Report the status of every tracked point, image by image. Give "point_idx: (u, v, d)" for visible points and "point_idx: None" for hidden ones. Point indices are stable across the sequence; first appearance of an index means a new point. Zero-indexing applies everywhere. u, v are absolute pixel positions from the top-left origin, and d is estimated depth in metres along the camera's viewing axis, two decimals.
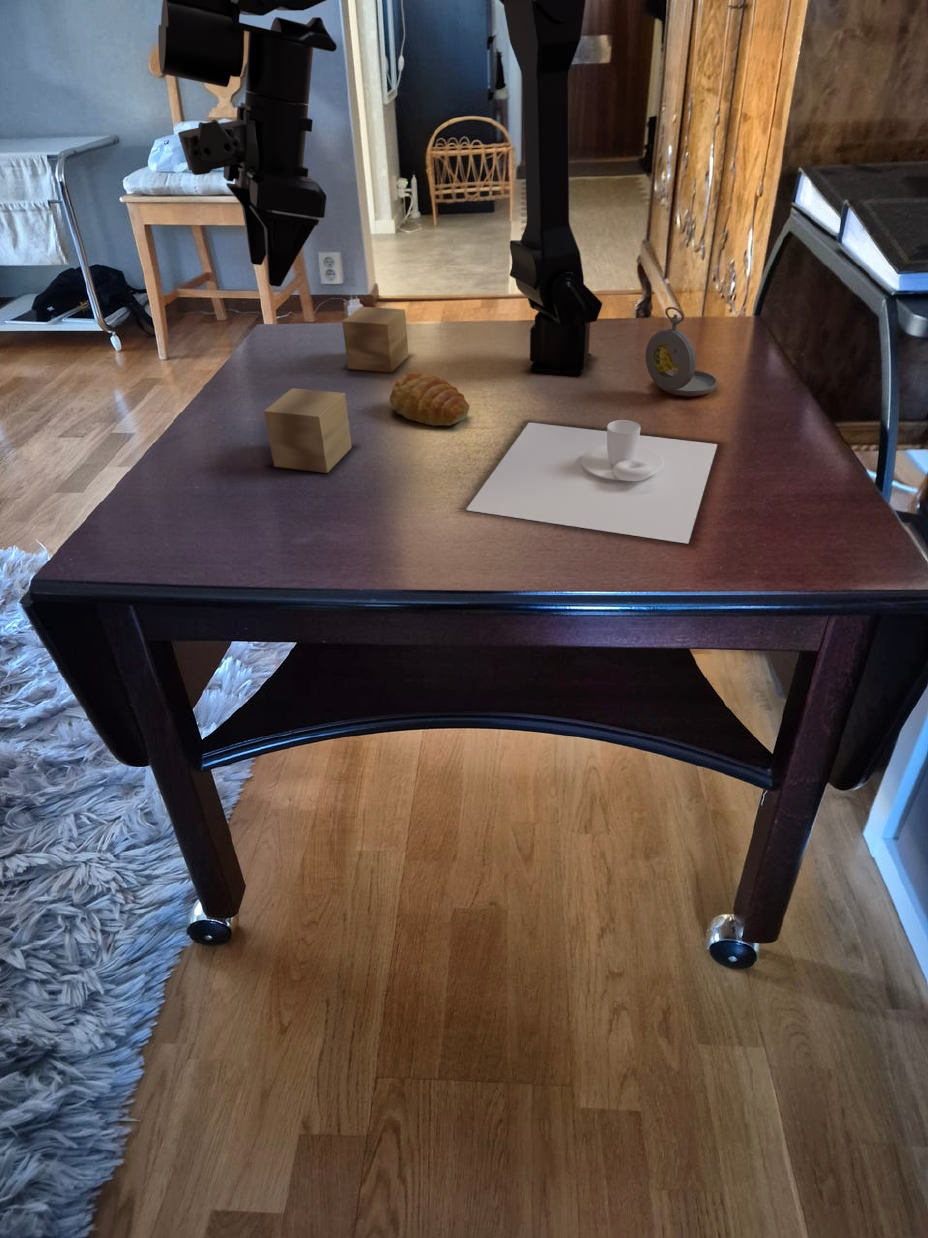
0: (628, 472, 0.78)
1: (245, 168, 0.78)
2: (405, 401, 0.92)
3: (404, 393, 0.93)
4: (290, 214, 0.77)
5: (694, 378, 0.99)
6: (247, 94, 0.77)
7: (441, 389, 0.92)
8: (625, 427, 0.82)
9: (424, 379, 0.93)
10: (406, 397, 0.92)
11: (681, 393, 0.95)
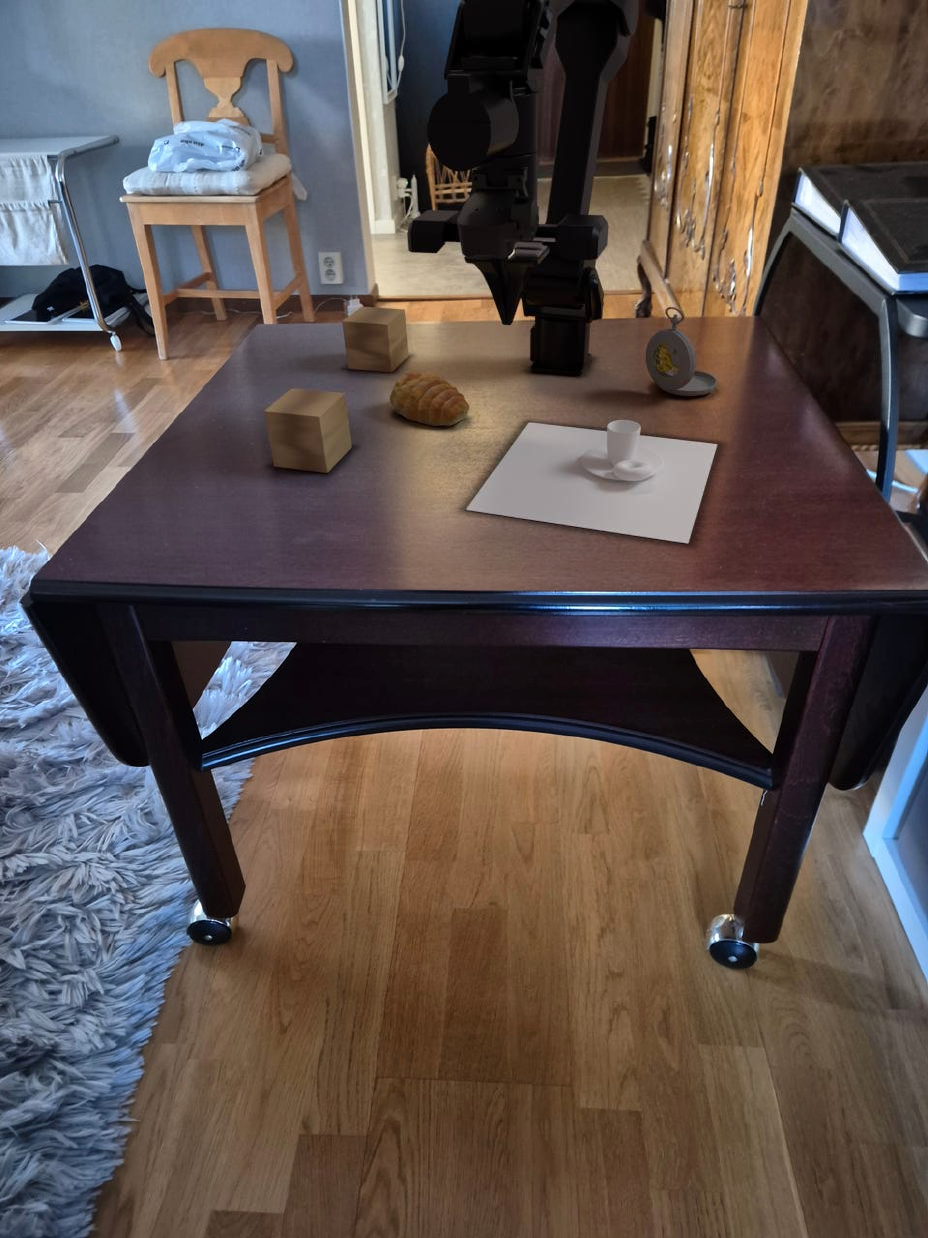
0: (628, 472, 0.78)
1: None
2: (405, 401, 0.92)
3: (404, 393, 0.93)
4: (542, 252, 0.81)
5: (694, 378, 0.99)
6: (504, 159, 0.75)
7: (441, 389, 0.92)
8: (625, 427, 0.82)
9: (424, 379, 0.93)
10: (406, 397, 0.92)
11: (681, 393, 0.95)
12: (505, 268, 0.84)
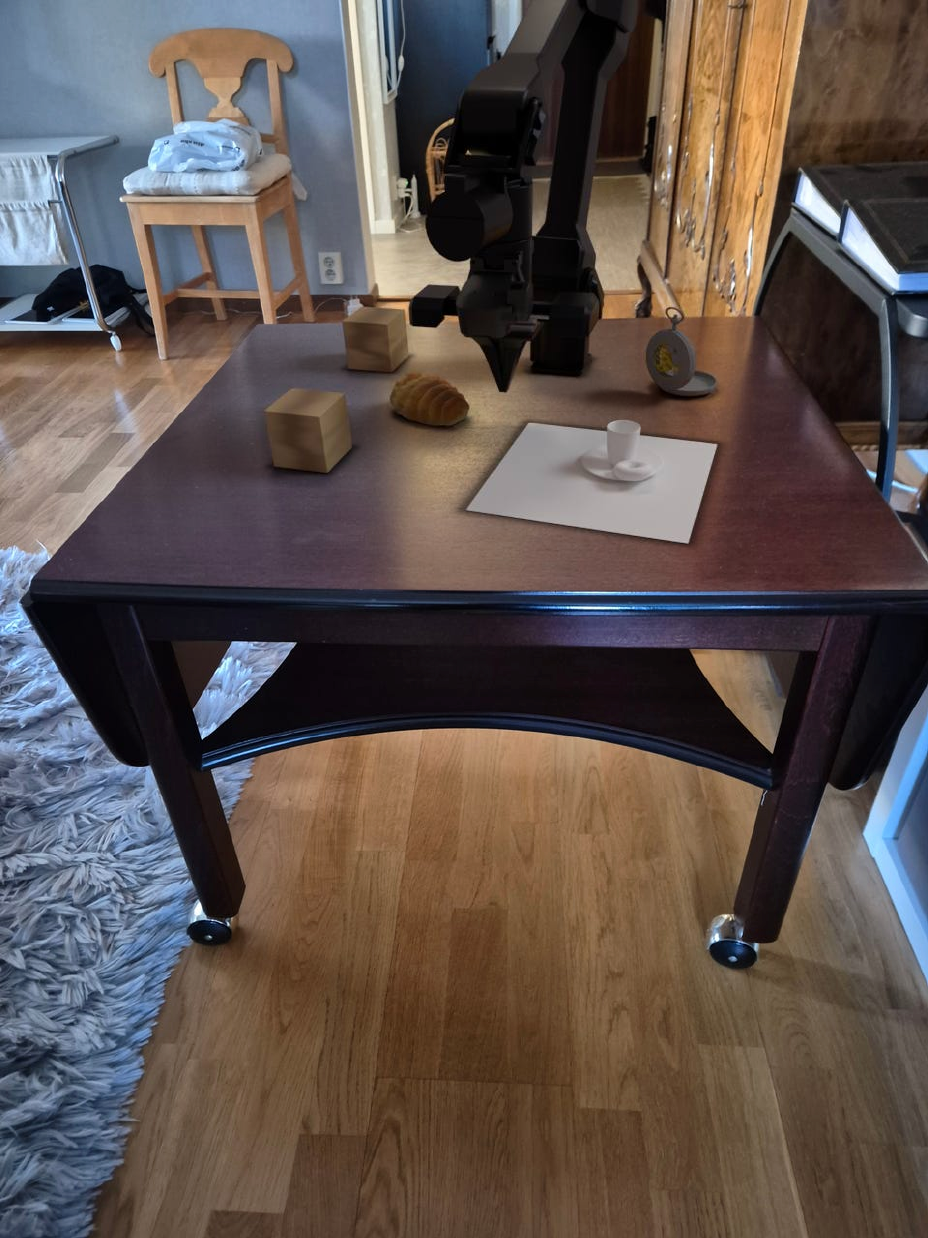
0: (628, 472, 0.78)
1: None
2: (405, 401, 0.92)
3: (404, 393, 0.93)
4: (537, 326, 0.86)
5: (694, 378, 0.99)
6: (500, 245, 0.79)
7: (441, 389, 0.92)
8: (625, 427, 0.82)
9: (424, 379, 0.93)
10: (406, 397, 0.92)
11: (681, 393, 0.95)
12: (501, 339, 0.89)
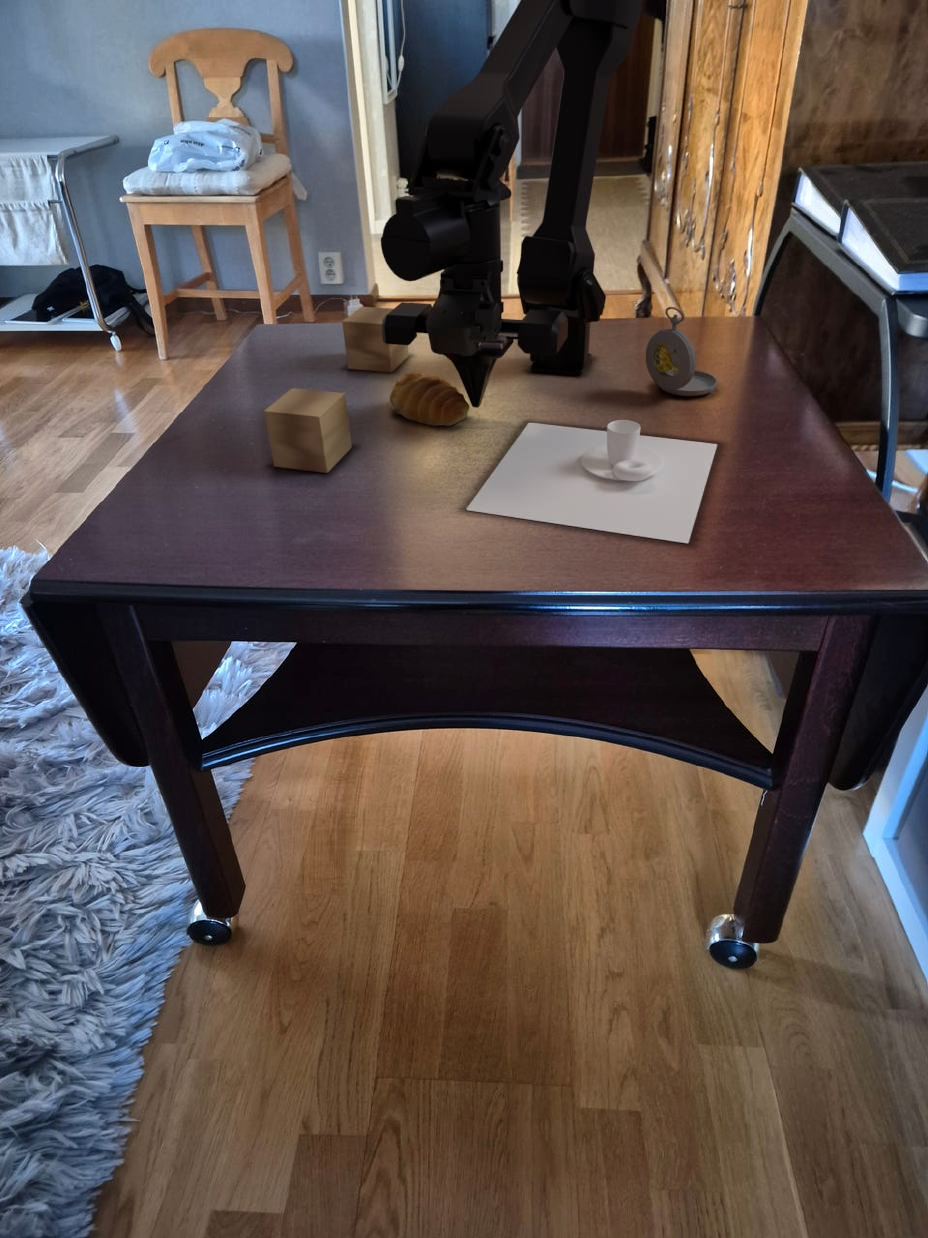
0: (628, 472, 0.78)
1: None
2: (405, 401, 0.92)
3: (404, 393, 0.93)
4: (506, 343, 0.88)
5: (694, 378, 0.99)
6: (469, 265, 0.81)
7: (441, 389, 0.92)
8: (625, 427, 0.82)
9: (424, 379, 0.93)
10: (406, 397, 0.92)
11: (681, 393, 0.95)
12: None
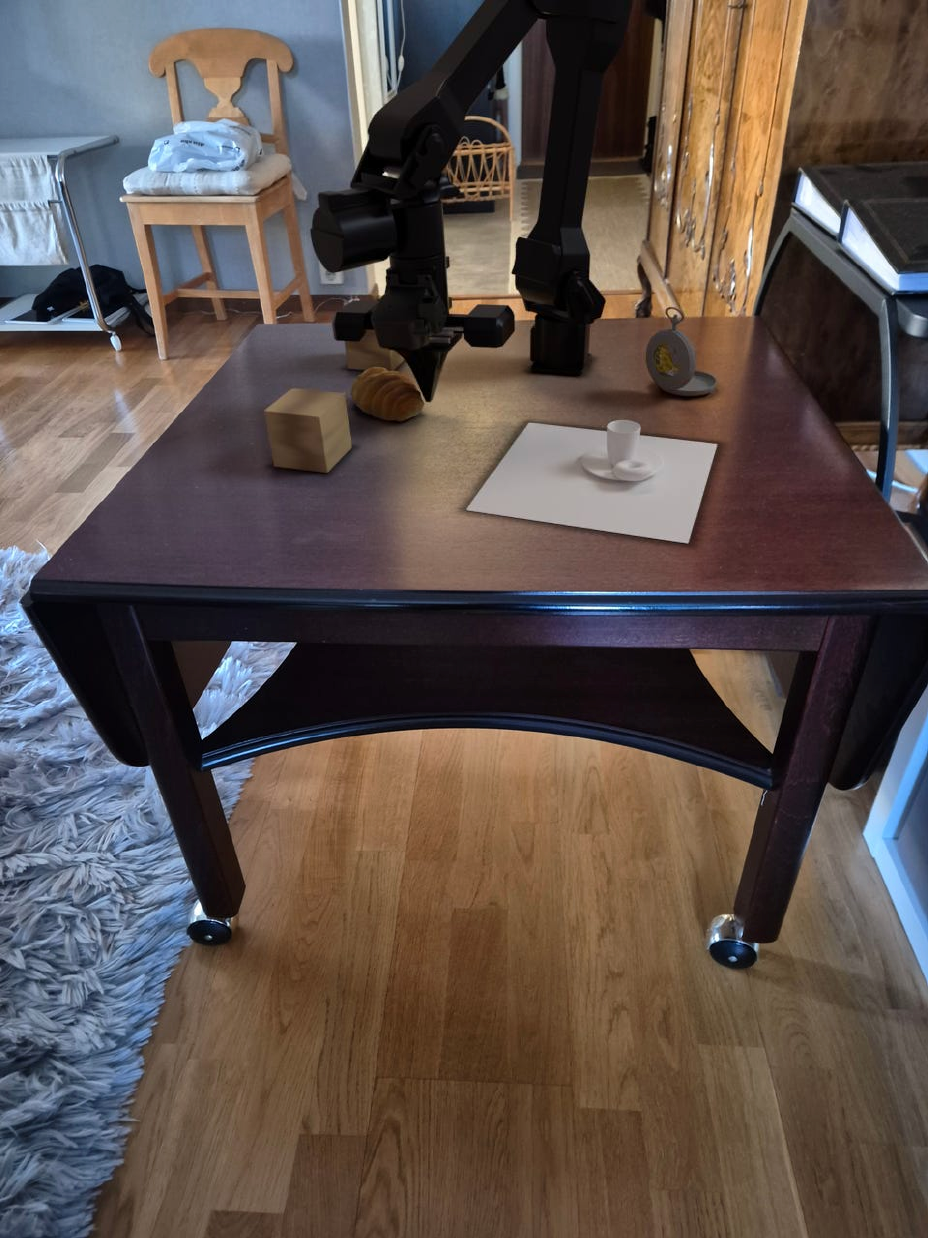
0: (628, 472, 0.78)
1: None
2: (362, 395, 0.94)
3: (361, 387, 0.94)
4: (454, 338, 0.89)
5: (694, 378, 0.99)
6: (413, 261, 0.83)
7: (397, 385, 0.93)
8: (625, 427, 0.82)
9: (383, 374, 0.95)
10: (363, 391, 0.94)
11: (681, 393, 0.95)
12: None
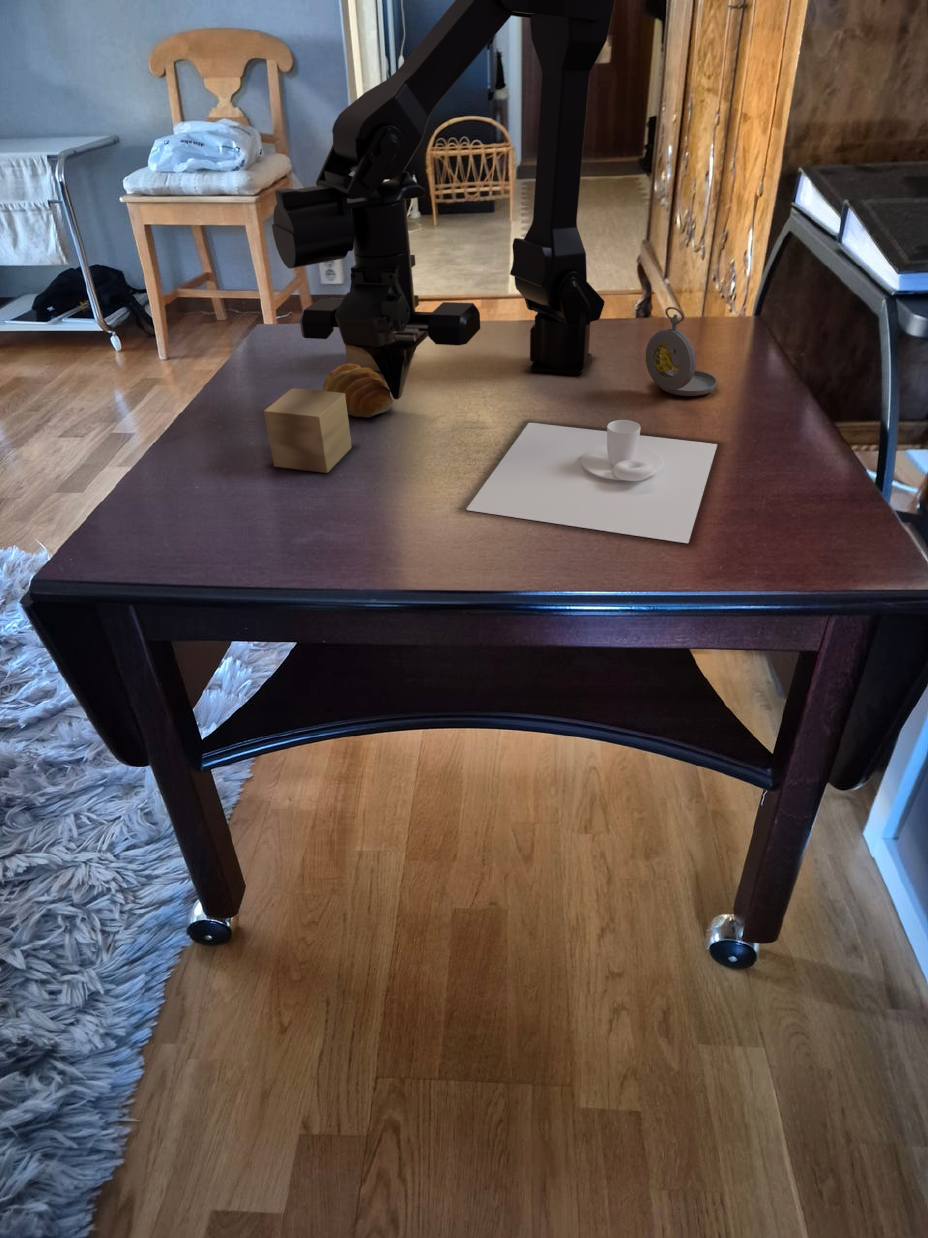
0: (628, 472, 0.78)
1: None
2: (332, 391, 0.95)
3: (332, 383, 0.96)
4: (421, 335, 0.90)
5: (694, 378, 0.99)
6: (377, 259, 0.84)
7: (366, 382, 0.95)
8: (625, 427, 0.82)
9: (354, 371, 0.96)
10: (334, 387, 0.96)
11: (681, 393, 0.95)
12: None
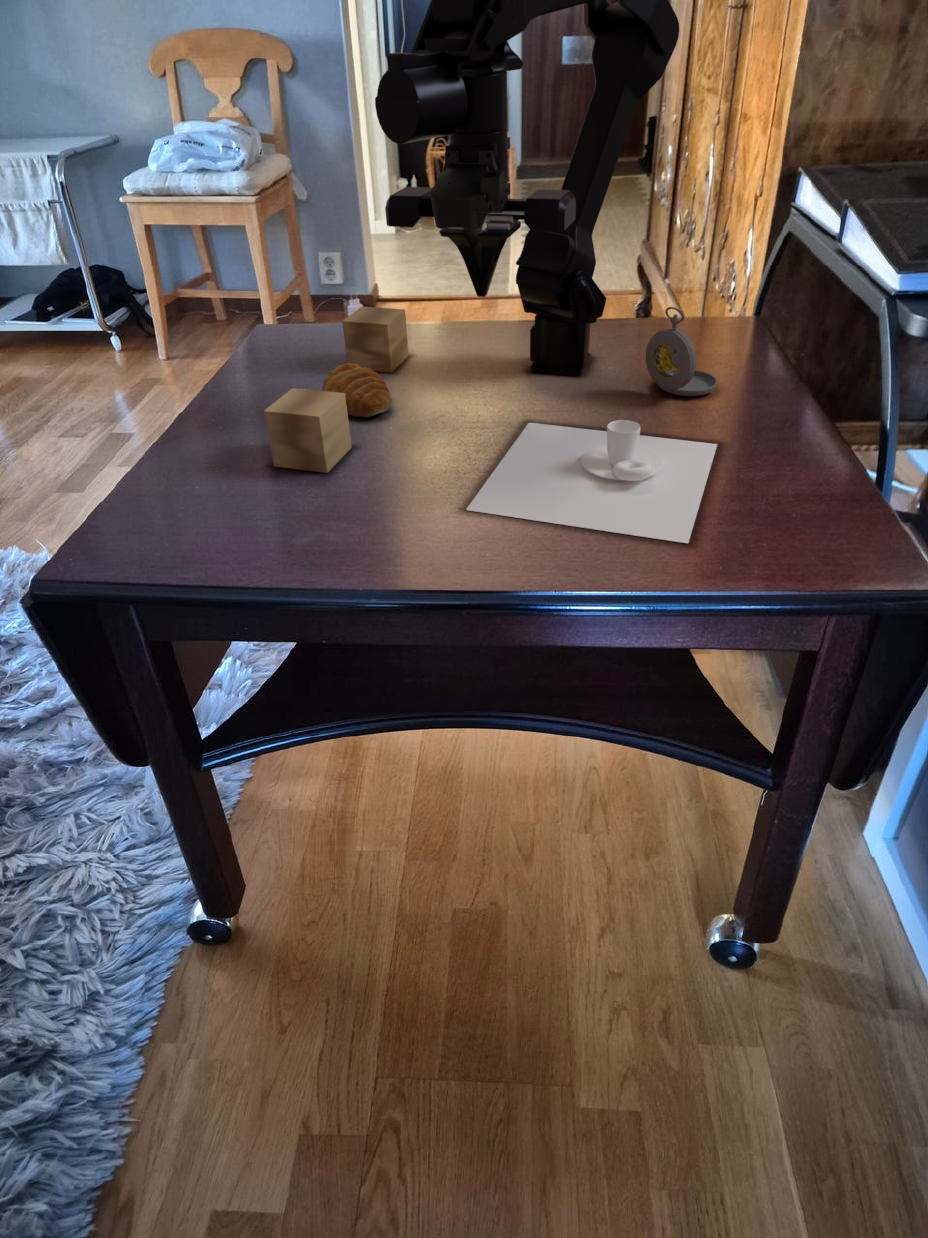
0: (628, 472, 0.78)
1: None
2: (332, 390, 0.95)
3: (332, 383, 0.96)
4: (514, 225, 0.86)
5: (694, 378, 0.99)
6: (475, 136, 0.79)
7: (366, 381, 0.95)
8: (625, 427, 0.82)
9: (354, 371, 0.96)
10: (333, 387, 0.96)
11: (681, 393, 0.95)
12: (479, 242, 0.89)
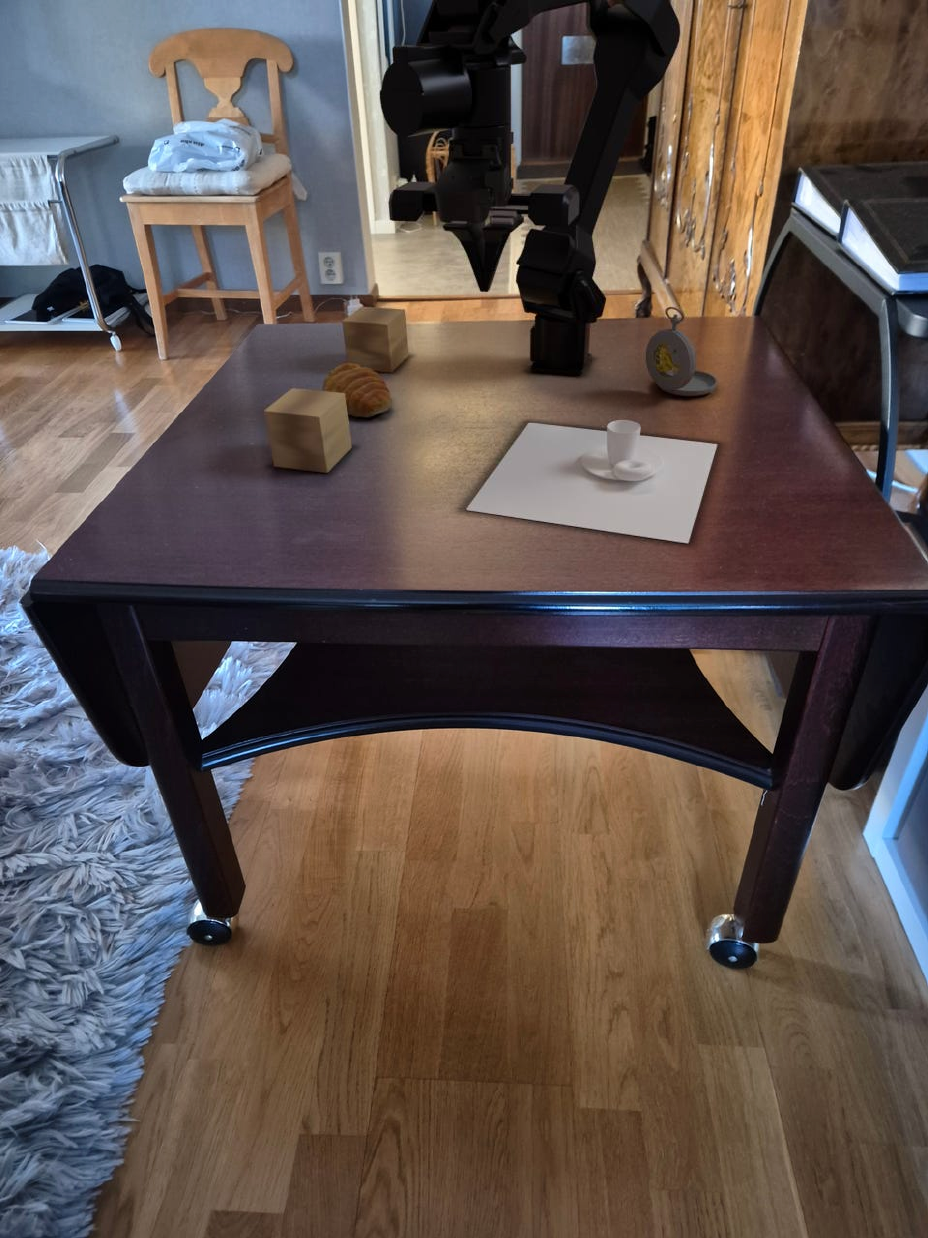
0: (628, 472, 0.78)
1: None
2: (332, 390, 0.95)
3: (332, 383, 0.96)
4: (517, 220, 0.86)
5: (694, 378, 0.99)
6: (479, 129, 0.79)
7: (365, 381, 0.95)
8: (625, 427, 0.82)
9: (354, 371, 0.96)
10: (333, 387, 0.96)
11: (681, 393, 0.95)
12: (482, 237, 0.89)
